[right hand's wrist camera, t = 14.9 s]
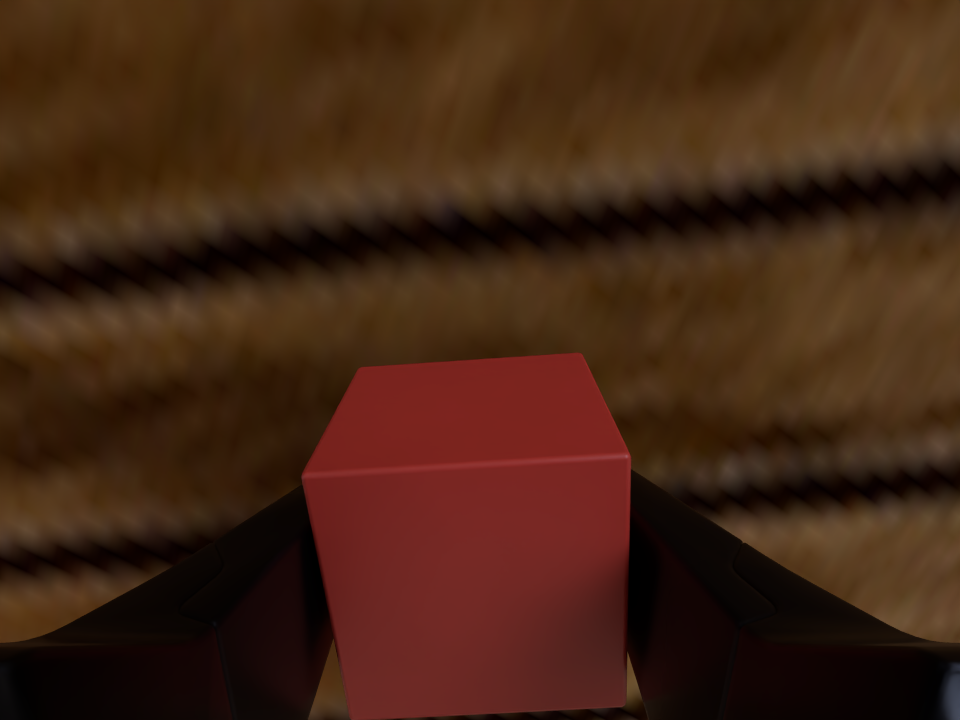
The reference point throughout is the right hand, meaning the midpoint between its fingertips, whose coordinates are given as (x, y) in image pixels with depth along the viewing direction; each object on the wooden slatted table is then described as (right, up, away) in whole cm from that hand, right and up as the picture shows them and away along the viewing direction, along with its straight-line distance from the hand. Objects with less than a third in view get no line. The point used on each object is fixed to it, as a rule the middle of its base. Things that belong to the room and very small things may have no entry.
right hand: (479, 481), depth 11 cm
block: (0, 0, +1) cm, 1 cm away
